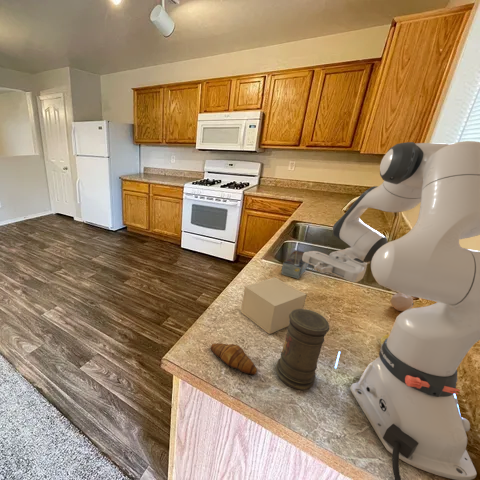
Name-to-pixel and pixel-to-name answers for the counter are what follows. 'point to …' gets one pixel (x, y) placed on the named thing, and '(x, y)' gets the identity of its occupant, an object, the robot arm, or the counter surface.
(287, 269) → the translucent blue-gray box
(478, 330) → the robot arm
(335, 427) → the counter surface
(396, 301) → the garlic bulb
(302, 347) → the container
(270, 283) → the beige rectangular block
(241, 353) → the croissant
